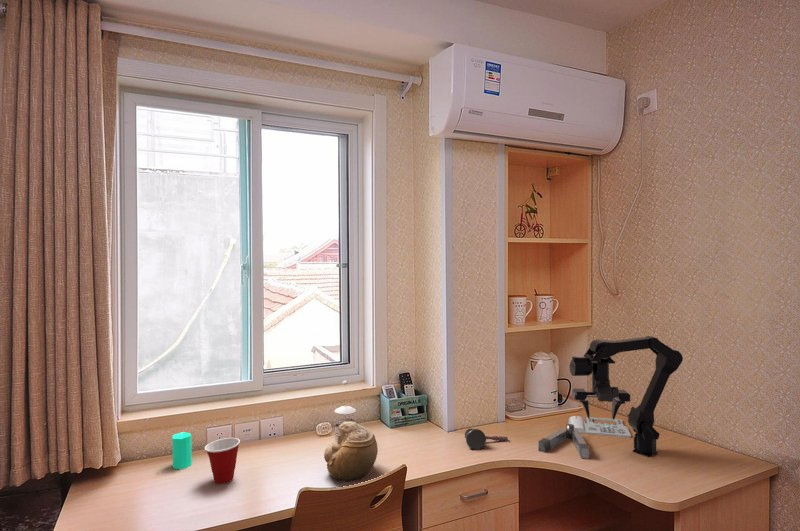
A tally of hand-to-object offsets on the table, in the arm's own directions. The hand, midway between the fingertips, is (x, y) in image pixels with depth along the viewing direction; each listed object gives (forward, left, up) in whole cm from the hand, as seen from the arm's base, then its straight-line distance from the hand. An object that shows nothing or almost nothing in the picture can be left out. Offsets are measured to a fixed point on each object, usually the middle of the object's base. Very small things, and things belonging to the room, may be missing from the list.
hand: (600, 418), depth 176 cm
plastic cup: (+61, +116, -13) cm, 131 cm away
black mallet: (+31, +27, -13) cm, 42 cm away
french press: (+62, +70, -13) cm, 94 cm away
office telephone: (+17, -24, -13) cm, 32 cm away
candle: (+81, +124, -13) cm, 148 cm away
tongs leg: (+7, +3, -12) cm, 14 cm away
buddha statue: (+40, +81, -13) cm, 91 cm away
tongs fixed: (+15, +5, -13) cm, 20 cm away
